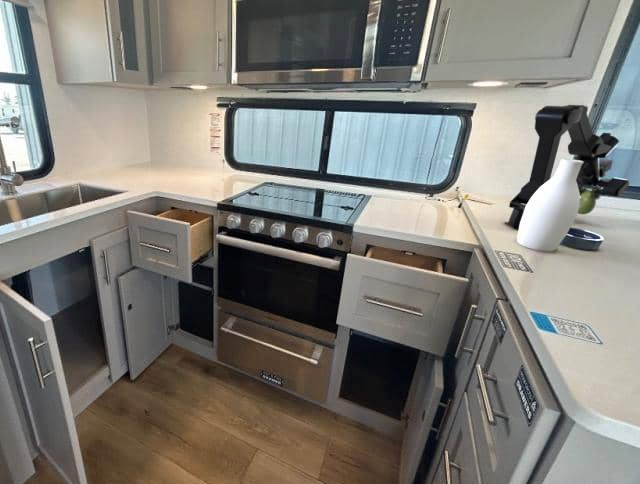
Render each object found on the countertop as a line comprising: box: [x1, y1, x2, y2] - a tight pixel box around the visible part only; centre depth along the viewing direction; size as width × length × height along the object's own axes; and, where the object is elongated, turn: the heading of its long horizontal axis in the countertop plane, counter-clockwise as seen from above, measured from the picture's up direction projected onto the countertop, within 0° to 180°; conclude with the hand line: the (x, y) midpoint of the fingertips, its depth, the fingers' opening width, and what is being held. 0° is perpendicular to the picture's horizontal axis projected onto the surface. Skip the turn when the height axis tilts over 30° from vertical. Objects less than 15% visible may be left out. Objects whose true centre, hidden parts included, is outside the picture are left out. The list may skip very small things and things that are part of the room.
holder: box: [559, 226, 605, 251], centre depth 101 cm, size 11×11×4 cm
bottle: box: [516, 158, 584, 253], centre depth 94 cm, size 11×11×25 cm
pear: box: [577, 187, 597, 215], centre depth 122 cm, size 6×5×10 cm
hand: (589, 196), depth 122 cm, fingers closed on pear, 4 cm apart
